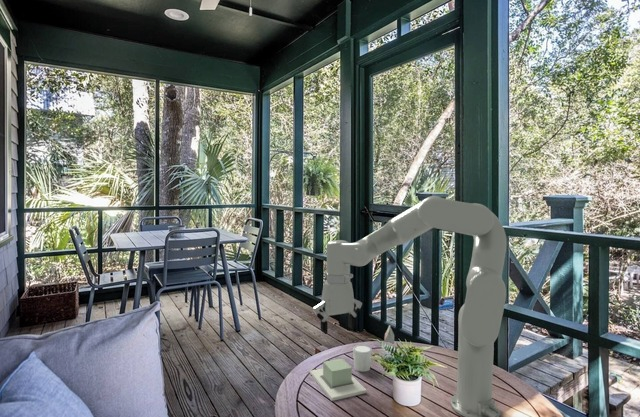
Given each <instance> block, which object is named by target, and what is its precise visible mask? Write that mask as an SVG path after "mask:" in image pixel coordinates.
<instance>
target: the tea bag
mask: <svg viewBox="0 0 640 417" xmlns="http://www.w3.org/2000/svg"><path fill="white" fill-rule="evenodd" d="M383 340H384V341H383V343H384V342H390V343H392V344H394V345H395V334H394V331H393V329H392V328H391V325H390V324H389V325H388V327H387V330H386V331H385V333H384V339H383Z"/></svg>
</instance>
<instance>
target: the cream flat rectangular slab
mask: <svg viewBox="0 0 640 417" xmlns="http://www.w3.org/2000/svg"><path fill="white" fill-rule="evenodd" d="M310 374H311V375H312V376H311V375H310ZM309 375H310V376H311V377H312V379H313V380H314V381H315V382H316V383H317V385H318V386H319V388H321V390H322V391H323V392H324V394H325V395H326V396H327V397H328V399H330V401H331V402H334V401H337V400H342V399H346V398H351V397H355V396H359V395H363V394H367V389H366V388H365V386H363V385H362V384H361V383H360V382H359V381H358V380H357V379H356V378H355V376H353V375H352V383H347V384H342V385H338V386H333V387H332V386H331V385H330V384H329V383H328V382H327V380H326V379H325V378H324V377H323V367H322V368H318V369H312V370H309Z"/></svg>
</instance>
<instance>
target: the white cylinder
mask: <svg viewBox="0 0 640 417" xmlns="http://www.w3.org/2000/svg"><path fill="white" fill-rule="evenodd" d="M372 354H373V348H372V347H370V346H368V345H365V344H357V345H355V346H353V348H352V355H353V357H352V358H353V367H354V370H356V371H357V372H361V373H362V372H368V371H370V370H371V364H372V363H371V362H372V357H373V356H372ZM370 357H371V358H370Z"/></svg>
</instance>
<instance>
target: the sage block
mask: <svg viewBox="0 0 640 417" xmlns="http://www.w3.org/2000/svg"><path fill="white" fill-rule="evenodd" d="M322 366H323V367H322V368H323V377H324V378H325V379H326V380H327V382H328V383H329V384H330V385H331V386H332V387H333V386H338V385H342V384H347V383H352V376H353V375H352V374H353V370H352V369H353V368H352V366H351V365H350V364H349V363H348V362H347V361H346V360H345V359H344V358H338V359H337V358H336V359H332V360H326V361H323V363H322Z"/></svg>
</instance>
